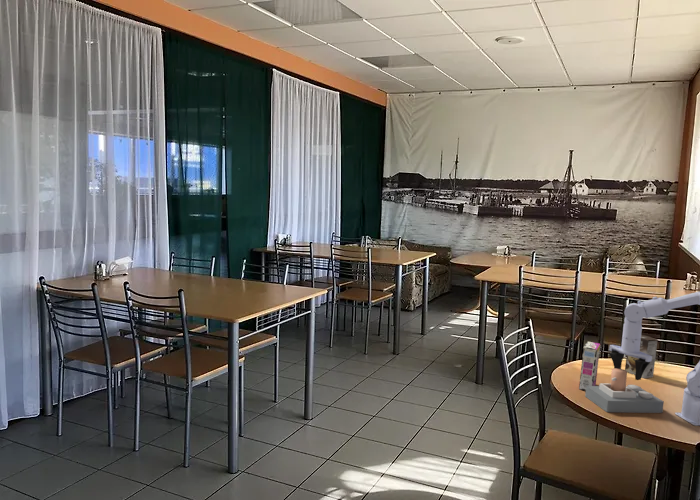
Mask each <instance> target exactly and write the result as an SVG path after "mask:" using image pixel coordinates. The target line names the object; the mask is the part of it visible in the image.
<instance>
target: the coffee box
mask: <svg viewBox="0 0 700 500" xmlns="http://www.w3.org/2000/svg"><path fill="white" fill-rule="evenodd" d="M658 341H659V339H658V338H654V337H652V336H648V335H644V334H641V342H640V351H641V352H643V353H645V354H648V355H651V356H652V361H651V362H650V363H649V365H648V366H647V367H646V369H645V370H644V372H643V374H642V377H641V379H648V378H653V377H654V372H655V365H656V355H657V349H658ZM625 356H626V357H625V366H624V367H625V368H624V370H626V371H627V373H628V372H629V373H628V374H631V375H633V374H634V376H635V374H636V365H635V360H639V359H638V358H635V357H632V356H628V355H625Z"/></svg>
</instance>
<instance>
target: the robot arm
mask: <svg viewBox="0 0 700 500" xmlns="http://www.w3.org/2000/svg"><path fill="white" fill-rule="evenodd" d="M693 305H699V306H700V291H696V292H691V293H687V294H684V295H681V296H680V295H679V296H676V297H673V298H668V299H665V298H664V297H657V296H652V299H648V300H644V301H641V300H638V301H637V303H635V302H633V303H632V302H631V303H629V304H628V305H626V307H625V309H624V319H623V320H624V321H623V322H624V323H623V327H622V337H621V346H620V345H616V344H609V347H608V348H609V349H608V351H610V352H609V356H610V358H611V360H612V364H613V367H614V368H618V369H622V365H623V364H622V363H623V359H624V356H626V355H628V356H632V357H635V358H638V359H639V360H635V365H636V374H635V375H634V378H635V381H639V380H642V378H641V377H642V374H643V372H644V370H645V369H646V367H647V366H648V365H649V363H650V362H651V361H652V356H651V355H648V354H645V353H643V352H641V351H640V342H641V335H642V331H643V326H642V323H643V319H648V318H649V319H650V318H654V317H659V316H662V315H667V314H668V313H669V311H670V310H672V309H678V308H684V307H688V306H693ZM686 383H687V384H686V387H685V388H684V389H683V397H682V405H681V412H674V414H675V416H678V417H679V418H681V419H683V420H685V421H686V422H687V423H689V424H691V425H692V426H700V360H699V361H698V363H697V364H696V365H695V366H694V368H693V369H692V370H691V371H689V372H688V373H687V374H686Z"/></svg>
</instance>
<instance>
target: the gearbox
mask: <svg viewBox="0 0 700 500" xmlns="http://www.w3.org/2000/svg"><path fill="white" fill-rule="evenodd" d="M610 386H611V383H605V382H604V383H602V382H601V383H599V385H595V386H586V391H585V394H584V396H585V398H586V399H588V400H589V401H590V402H592V403H593V404H594V405H596V406H597V407H598V408H600V409H601V410H603V411H604V412H606V413H635V414H636V413H639V414H640V413H643V414H645V413H652V414H662V413H664V412H663V410H664V400H662V399H661V398H659V397H657V396H655V395H654V394H653V393H651V392H648V391H646V390H645V389H643V388H642V387H641V386H640V385H639V386H638V385H637V384H626V391H613V390H611V389H610Z"/></svg>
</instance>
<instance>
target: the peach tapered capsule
mask: <svg viewBox="0 0 700 500" xmlns="http://www.w3.org/2000/svg"><path fill="white" fill-rule="evenodd" d="M610 375H611V376H610V384H611V386H610V389H611V390H613V391H626V386H627V377H628V372H627V371H626V370H625V369H623V368H621V369H618V368H611V374H610Z"/></svg>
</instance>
